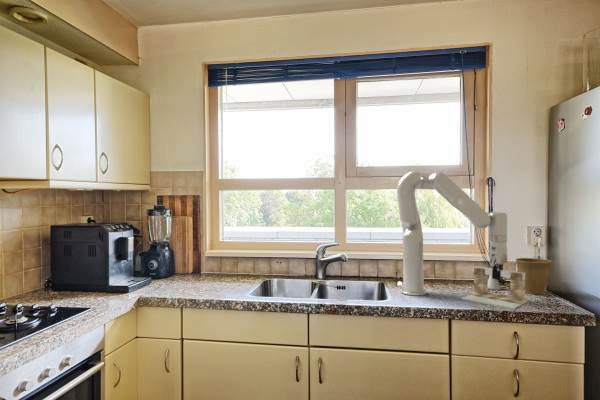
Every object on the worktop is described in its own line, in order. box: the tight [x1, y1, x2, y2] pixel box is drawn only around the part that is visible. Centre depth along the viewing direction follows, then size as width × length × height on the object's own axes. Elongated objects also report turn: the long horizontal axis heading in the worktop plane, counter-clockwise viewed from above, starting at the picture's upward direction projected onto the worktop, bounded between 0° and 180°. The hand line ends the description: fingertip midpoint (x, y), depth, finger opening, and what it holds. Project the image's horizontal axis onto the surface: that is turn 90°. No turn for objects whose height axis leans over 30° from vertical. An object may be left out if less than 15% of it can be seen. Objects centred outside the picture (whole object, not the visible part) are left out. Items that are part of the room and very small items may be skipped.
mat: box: [461, 294, 521, 310], centre depth 166 cm, size 22×8×1 cm, turn 42°
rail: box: [471, 265, 525, 280], centre depth 173 cm, size 22×3×3 cm, turn 42°
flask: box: [488, 275, 501, 291], centre depth 191 cm, size 7×7×10 cm
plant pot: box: [515, 257, 552, 295], centre depth 182 cm, size 15×15×16 cm
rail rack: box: [470, 268, 529, 305], centre depth 173 cm, size 22×8×13 cm, turn 42°
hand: (497, 278), depth 173 cm, fingers closed on rail, 2 cm apart
